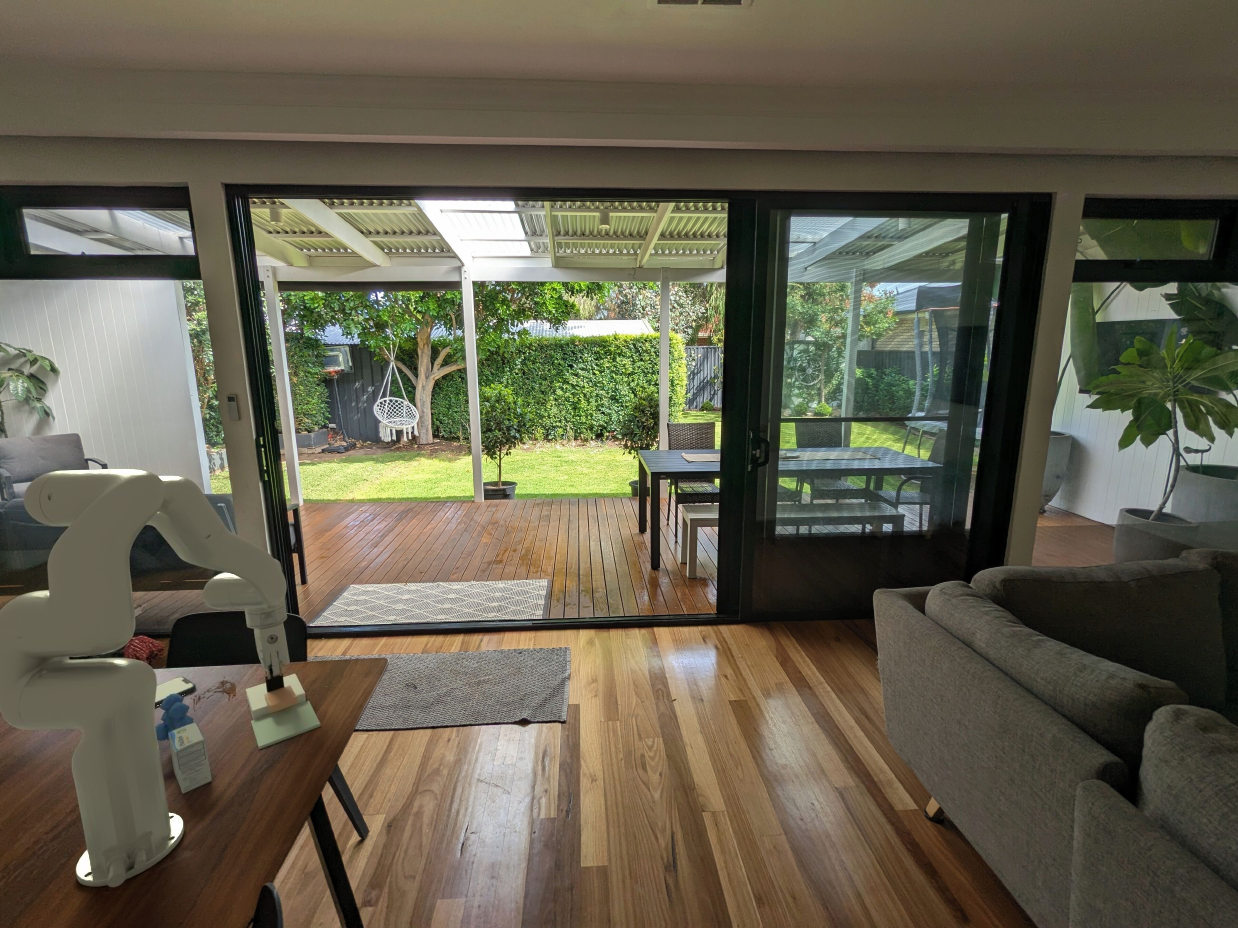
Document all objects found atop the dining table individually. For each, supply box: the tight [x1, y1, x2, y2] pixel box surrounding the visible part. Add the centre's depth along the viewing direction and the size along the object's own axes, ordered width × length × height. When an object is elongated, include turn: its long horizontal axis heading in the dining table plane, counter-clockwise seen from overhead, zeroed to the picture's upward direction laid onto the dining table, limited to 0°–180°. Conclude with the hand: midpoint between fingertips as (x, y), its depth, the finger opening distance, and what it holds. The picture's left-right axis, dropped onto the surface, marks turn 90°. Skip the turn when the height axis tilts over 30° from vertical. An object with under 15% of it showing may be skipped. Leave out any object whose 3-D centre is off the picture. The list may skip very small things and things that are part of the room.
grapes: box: [155, 693, 195, 742], centre depth 106 cm, size 12×7×12 cm, turn 54°
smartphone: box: [155, 676, 197, 708], centre depth 125 cm, size 9×2×16 cm
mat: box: [250, 700, 321, 750], centre depth 115 cm, size 11×11×1 cm
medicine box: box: [168, 721, 213, 794], centre depth 100 cm, size 8×4×9 cm, turn 47°
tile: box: [265, 685, 297, 713], centre depth 119 cm, size 6×5×2 cm
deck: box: [245, 673, 307, 720], centre depth 124 cm, size 11×10×2 cm
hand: (275, 691), depth 123 cm, fingers closed
